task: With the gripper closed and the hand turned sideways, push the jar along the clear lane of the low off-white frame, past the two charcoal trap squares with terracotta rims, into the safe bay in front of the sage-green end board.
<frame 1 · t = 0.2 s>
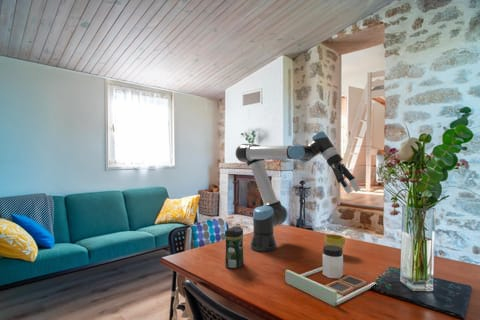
hand: (354, 191, 145), 35 cm above the table, tool tilted 35°, fingers open, 13 cm apart
jar: (332, 275, 126), on the table
coffee jar: (234, 265, 138), on the table
trap box: (330, 283, 117), on the table
plant pot: (334, 254, 153), on the table
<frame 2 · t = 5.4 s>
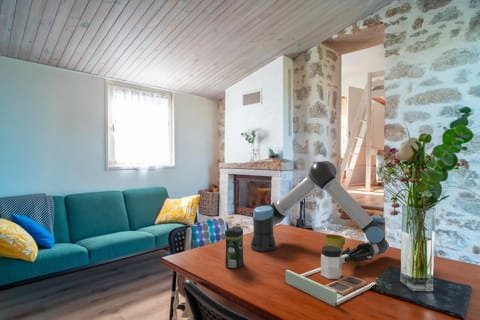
hand: (338, 260, 128), 6 cm above the table, tool horizontal, fingers closed
jar: (331, 275, 126), on the table, touching gripper
everything else where it was.
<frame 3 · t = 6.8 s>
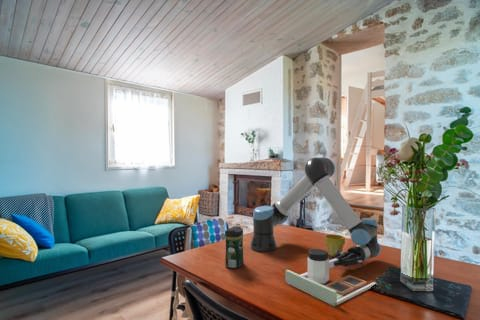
hand: (327, 265, 122), 6 cm above the table, tool horizontal, fingers closed
jar: (318, 280, 121), on the table
everything else where it was.
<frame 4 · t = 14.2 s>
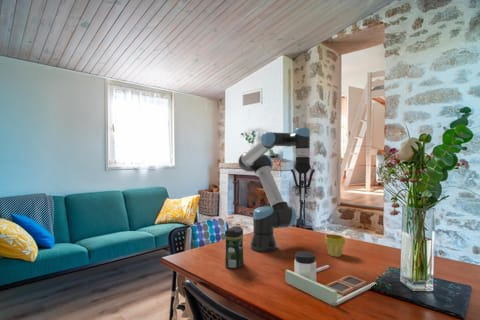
hand: (302, 200, 153), 29 cm above the table, tool pointing down, fingers closed
jar: (305, 283, 119), on the table
everything else where it was.
at the end: jar inside the target area on the trap box (1.8 cm from its centre), point 0.0 cm above the trap box's base; jar tilted 0° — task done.
